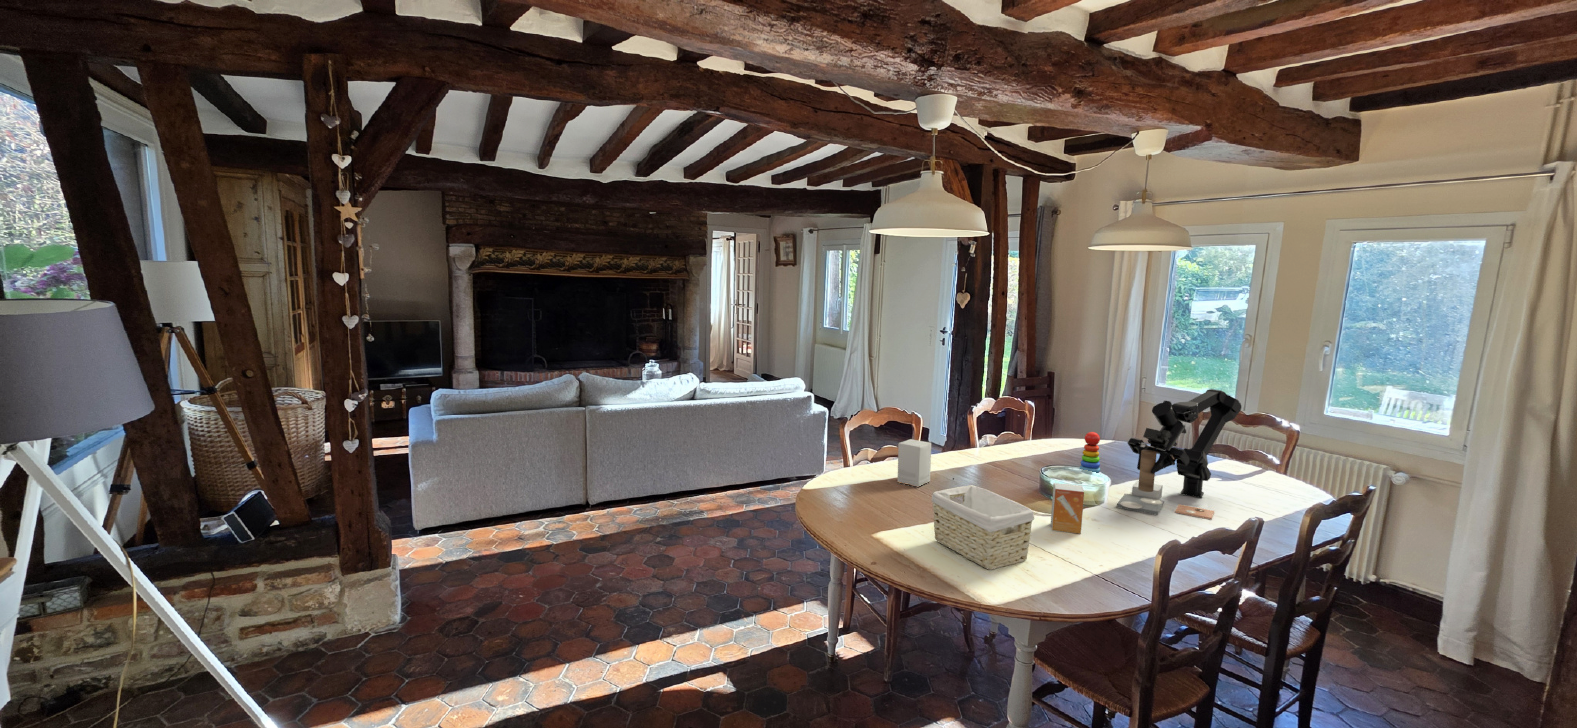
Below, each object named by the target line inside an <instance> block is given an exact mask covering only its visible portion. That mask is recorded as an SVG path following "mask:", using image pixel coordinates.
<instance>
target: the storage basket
mask: <svg viewBox="0 0 1577 728" xmlns="http://www.w3.org/2000/svg"><path fill="white" fill-rule="evenodd" d="M960 497H962V498H961V499H962V502H961V503H958V502H956V501H953V500H952V499H954V498H960ZM931 502H932V510H933V527H934V529H933V530H934V540H935V541H936V542H938V543H940V544H941V545H943V546H945V547H947V548H949V549H950V550H951V551H954V552H956V553H958V554H959V555H962V556H963V557H964V558H965V559H967V560H969V561H971V562H974V563H976V564H977V565H978V566H981V567H982V568H983V569H987V570H995V569H999V568H1002V567H1007V566H1012V565H1014V564H1015V565H1016V564H1017V563H1018V564H1019V563H1022V562H1024V561H1026V560H1028V554H1029V546H1030V539H1031V538H1032V537H1031V536H1032V535H1031V532H1032V524H1033V521H1034V520H1035V515H1034V510H1032V509H1031V508H1030V507H1028V506H1025V505H1023V504H1021V503H1020V502H1017V501H1014V500H1012V499H1009V498H1007V497H1004V496H1002V495H1001V494H997V493H996V492H993V491H992V490H988V489H986V488H982V487H980V486H975V485H974V484H971V485H964V486H958V487H952V488H947V489H942V490H937V491H934V492H933V493H932V495H931Z"/></svg>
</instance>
